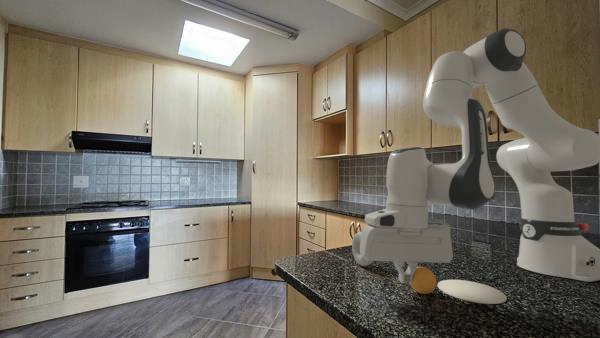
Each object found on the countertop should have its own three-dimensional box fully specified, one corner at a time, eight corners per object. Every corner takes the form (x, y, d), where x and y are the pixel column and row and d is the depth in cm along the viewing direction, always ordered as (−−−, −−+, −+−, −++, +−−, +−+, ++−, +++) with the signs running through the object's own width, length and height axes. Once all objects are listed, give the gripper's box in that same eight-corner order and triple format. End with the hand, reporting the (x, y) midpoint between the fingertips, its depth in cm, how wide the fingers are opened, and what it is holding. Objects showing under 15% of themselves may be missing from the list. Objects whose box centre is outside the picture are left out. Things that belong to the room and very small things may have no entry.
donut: (377, 270, 72) (376, 234, 73) (366, 271, 71) (365, 234, 72) (359, 260, 82) (359, 228, 83) (350, 261, 81) (349, 229, 82)
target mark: (474, 279, 66) (474, 278, 66) (523, 302, 53) (523, 301, 53) (426, 281, 64) (426, 280, 64) (464, 305, 51) (464, 304, 51)
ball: (411, 292, 60) (430, 278, 61) (426, 303, 54) (446, 288, 55) (399, 272, 60) (418, 258, 61) (412, 281, 54) (433, 266, 55)
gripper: (440, 218, 62) (440, 277, 61) (358, 215, 60) (356, 276, 59) (459, 221, 56) (459, 287, 55) (367, 218, 54) (366, 286, 53)
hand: (405, 281), depth 57 cm, fingers closed
